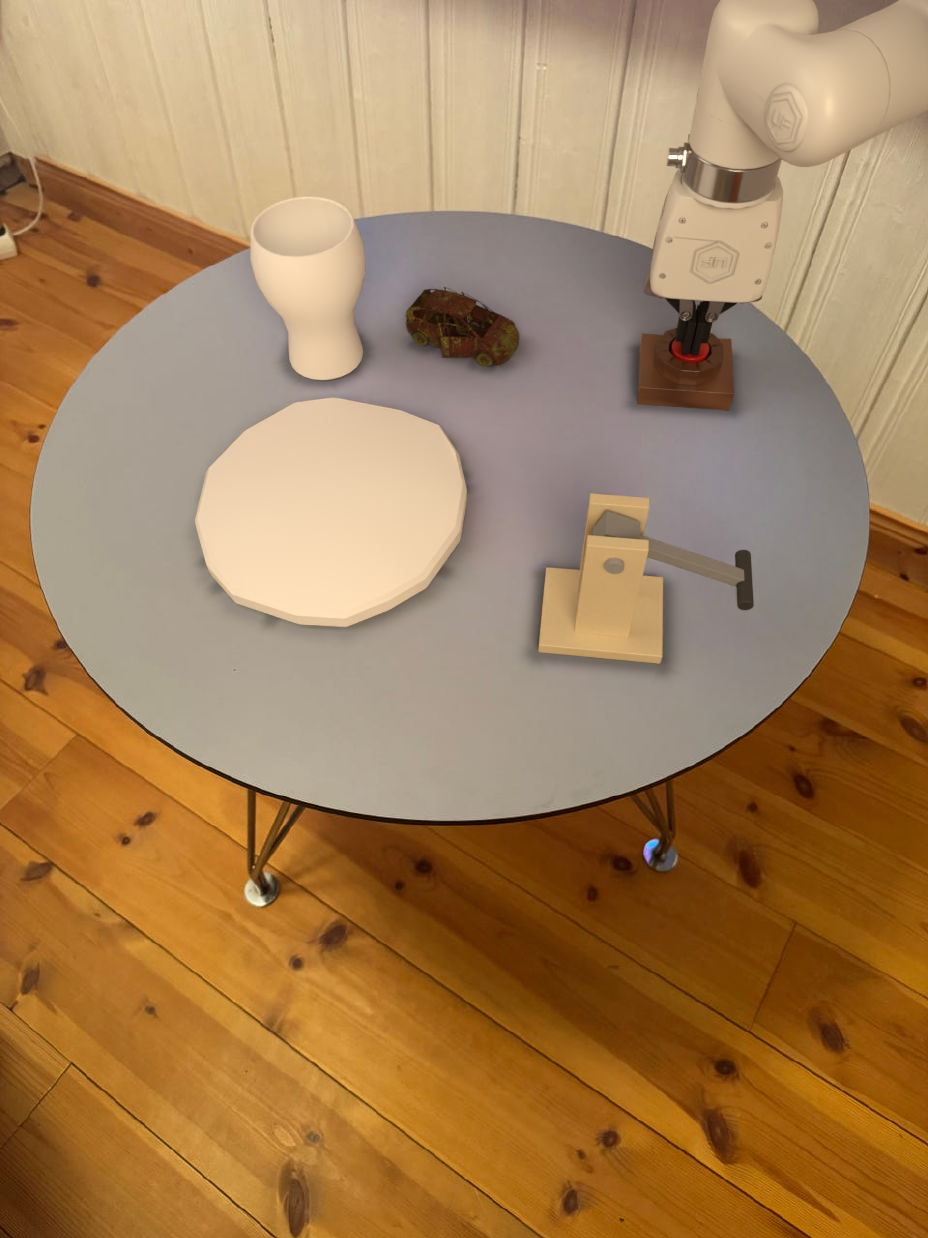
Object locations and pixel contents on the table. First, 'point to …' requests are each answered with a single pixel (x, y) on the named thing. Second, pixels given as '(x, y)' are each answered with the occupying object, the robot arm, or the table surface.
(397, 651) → the table surface
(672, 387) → the button block
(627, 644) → the lever base
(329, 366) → the cup
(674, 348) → the button
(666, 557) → the lever
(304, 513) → the decorative plate
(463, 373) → the table surface
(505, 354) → the toy car
